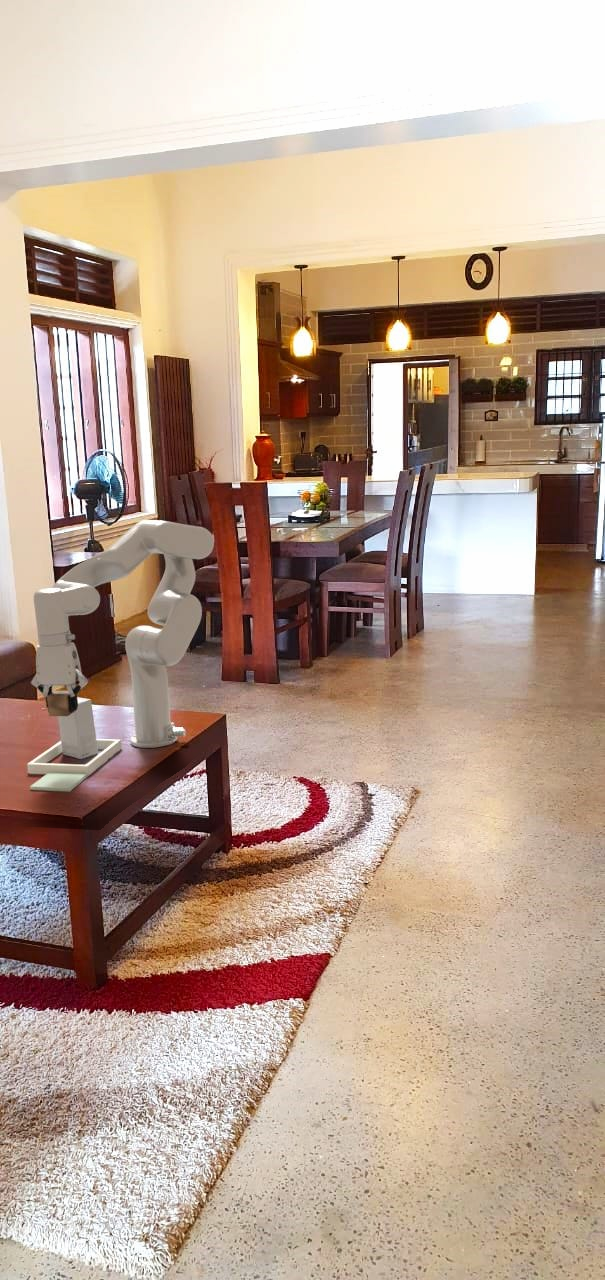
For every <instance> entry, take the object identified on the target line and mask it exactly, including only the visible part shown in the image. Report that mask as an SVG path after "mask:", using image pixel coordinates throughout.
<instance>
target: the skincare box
mask: <svg viewBox="0 0 605 1280" xmlns="http://www.w3.org/2000/svg"><path fill="white" fill-rule="evenodd" d="M77 700H78V707H77V710H76V711H75V712H73V713H72V714H71V715H69V716H57V719H58V720H57V721H58V728H59V736H60V741H61V744H62V755H63V756H68V757H72V758H76V759H80V760H83V759H86V758H89V757H92V756H95V755H96V756H97V755H98V754H99V749H98V748H97V741H96V739H97V734H96V725H95V719H94V711H93V704H92V699H90V698H84V697H78V696H77Z"/></svg>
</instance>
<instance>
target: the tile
mask: <svg viewBox="0 0 605 1280" xmlns="http://www.w3.org/2000/svg"><path fill="white" fill-rule="evenodd" d="M88 777H89V776H87V774H85V773H59V772H49V773H48V774H44V776H42V777H41V778H40V779H38V780H36V781H35V782H34V783H33V784H31V785H30V786H29V791H50V792H71V791H72V790H73V789H74V788H76V787H77V786H78V785H79V784H80V783H82V782H83V781H84V780H85V779H87V778H88Z"/></svg>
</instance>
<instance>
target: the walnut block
mask: <svg viewBox="0 0 605 1280" xmlns="http://www.w3.org/2000/svg"><path fill="white" fill-rule="evenodd" d="M68 697H69V692H68V690H55V691H52V694H50V695H48V696H47V702H48V708H47V712H48V711H49V712H48V717H58V716H69V715H71V714H72V713H70V711H69V703H68ZM75 711H76V710H75ZM75 711H74V712H75Z"/></svg>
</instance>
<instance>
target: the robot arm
mask: <svg viewBox="0 0 605 1280" xmlns="http://www.w3.org/2000/svg"><path fill="white" fill-rule="evenodd" d="M214 545H215V542H214V537H213V535H212V533H211V532H210V531H209V530H208V529H207V528H205V527H202V526H196V525H192V524H191V525H190V524H183V523H178V522H172V521H167V520H154V519H153V520H152V519H147V520H146V519H144V520H141V521H138V522H137V523H135V524H134V525H133V526H132V527H130V529H128V530H127V531H125V533H124V534H123V535H121V536H120V537H119V538H118V539H117V540H116V541H115V542H113V543H112V544H111V545H110V546H109V547H107V548H106V549H105V550H103V551H102V552H99V553H97V554H96V555H94V556H92V557H90V558H88V559H86V560H84V561H83V562H80V563H78V564H77V565H75V566H74V567H72V568H71V569H70V570H68V571H67V572H66V573H65V574H64V575H62V576H61V577H60V578H59V579H58V580H56V582H55V583H54V584H53V585H52V587H50V588H49V587H48V588H42V589H39V590H36V591H35V592H34V594H33V605H34V612H35V622H36V623H35V624H36V631H37V639H38V645H37V646H36V654H35V667H36V674H35V675H34V676H33V678H32V680H31V681H30V684H31V685H32V686H34V687H35V688H37V689H38V690H37V691H39V692H40V693H41V694H42V696H43V697H44V698H45V705H46V708H47V709H48V702H47V696H48V695H50V694H52V693H53V692H54V690H53V689H54V686H65V688H66V691H68V692H69V697H68V703H69V711H70V713H73V712H74V711H75V710H77V707H78V700H77V697H78V694H79V693H80V692H81V690H82V689H83V687H86V685H87V684H88V683H89V680H88V679H87V677H85V675H84V674H83V673H82V666H81V662H80V658H79V654H78V650H77V647H76V644H75V643H74V642H72V641H75V639H76V635H75V634H72V632H71V630H70V623H69V617H70V616H79V615H80V616H84V615H88V614H91V613H93V612H95V611H96V610H97V608H99V605H100V602H101V595H100V593H99V591H98V590H97V589H96V587H98V586H100V585H103V584H106V583H111V582H115V581H119V580H121V579H124V578H126V577H128V576H129V575H131V573H132V572H134V571H135V570H136V569H137V568H138V567H139V566H141V564H142V563H143V562H144V561H146V560H147V559H148V558H149V557H150V556H151V555H153V554H159V555H160V554H162V555H163V556H164V560H165V561H164V562H165V569H164V573H163V576H162V578H161V580H160V581H159V584H158V586H157V587H156V589H155V592H154V594H153V596H152V598H151V599H150V602H149V604H148V607H147V611H146V612H147V616H148V617H147V618H149V620H150V622H152V623H153V624H156V625H158V626H162V627H157V626H152V625H138V626H136V627H133V628H132V629H131V630H130V631H129V632H128V634H127V636H126V638H125V645H124V646H125V651H126V656H127V660H128V663H129V664H128V665H129V669H130V676H131V689H132V705H133V715H134V727H135V728H134V729H135V734H134V735H132V736H131V737H130V739H129V740H130V744H131V745H132V746H134V747H137V748H141V749H142V748H143V749H144V748H145V749H148V748H149V749H151V748H153V749H154V748H161V747H165V746H169V745H172V744H174V743H175V741H176V742H177V741H178V737H179V738H180V737H181V738H182V737H183V738H184V737H186V735H187V734H186V729H185V727H176V726H175V722H172V721H171V710H170V709H171V708H170V707H171V706H170V696H169V695H170V692H169V679H168V672H167V668H166V667H171V666H174V665H177V664H178V663H179V662H180V661H182V658H183V657H184V655H185V654H186V652H187V650H188V649H189V648H188V647H189V646H190V643H191V642H192V639H193V638H194V636H195V634H196V632H197V630H198V627H199V625H200V623H201V620H202V617H203V615H202V613H203V607H202V604H201V602H200V600H199V599H198V598H197V597H196V596H195V595H193V594H192V593H191V592H192V590H193V587H194V585H195V583H196V569H195V565H194V561H193V560H202V559H205V558H207V557H208V556H210V554H211V553H212V552H213V549H214ZM76 682H79V683H78V684H76ZM47 712H48V713H49V711H48V710H47Z"/></svg>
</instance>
